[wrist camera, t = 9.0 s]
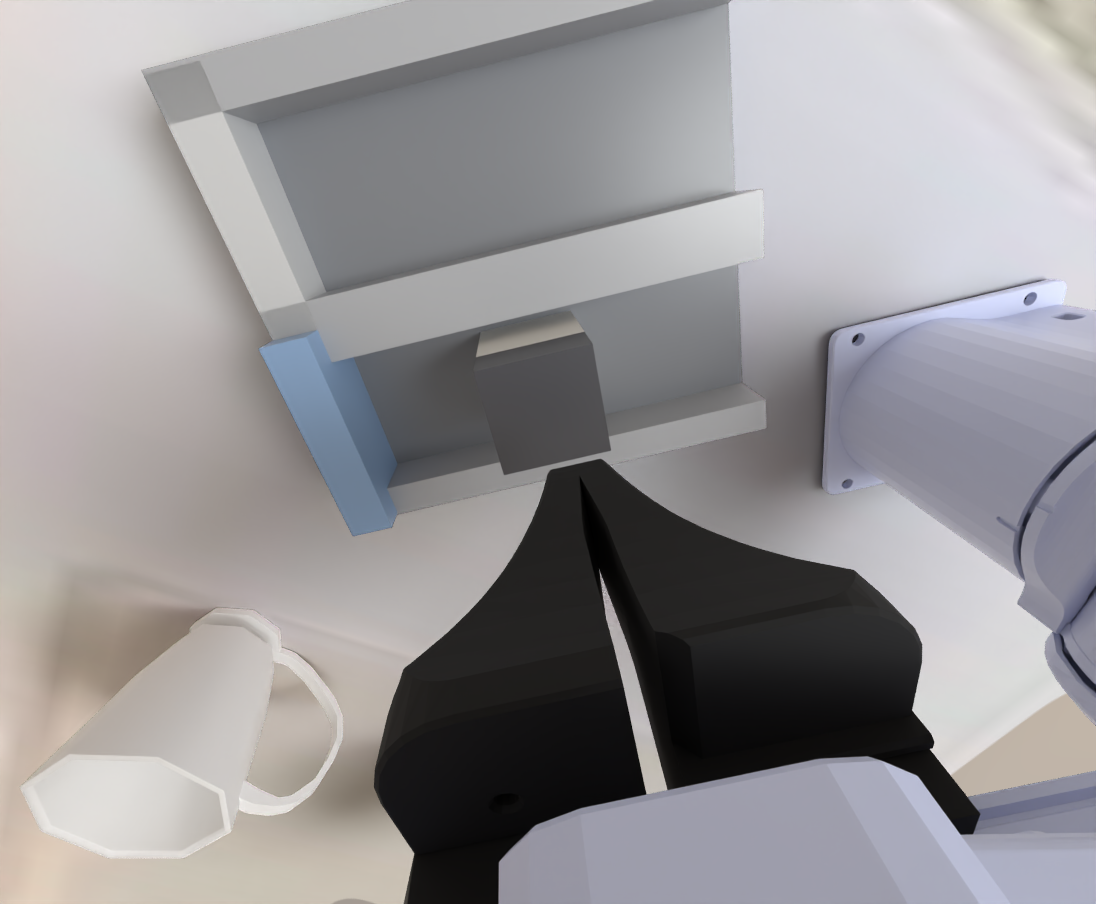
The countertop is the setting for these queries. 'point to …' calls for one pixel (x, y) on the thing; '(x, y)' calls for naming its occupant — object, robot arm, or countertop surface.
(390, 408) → the grey tray
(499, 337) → the grey rectangular block
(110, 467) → the countertop surface
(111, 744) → the cup
